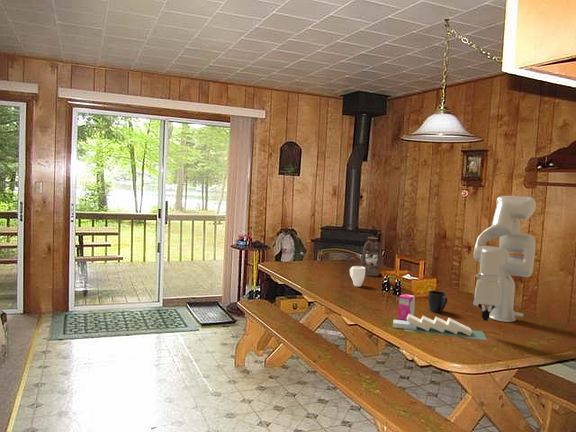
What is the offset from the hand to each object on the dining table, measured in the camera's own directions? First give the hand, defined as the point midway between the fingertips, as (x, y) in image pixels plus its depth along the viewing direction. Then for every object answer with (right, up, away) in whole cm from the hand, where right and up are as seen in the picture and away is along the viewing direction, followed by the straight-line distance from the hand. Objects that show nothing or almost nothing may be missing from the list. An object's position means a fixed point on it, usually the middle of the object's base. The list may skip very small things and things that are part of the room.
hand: (485, 319), depth 211 cm
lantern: (-28, +4, +125) cm, 128 cm away
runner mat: (-17, -6, +4) cm, 18 cm away
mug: (-9, -4, +36) cm, 38 cm away
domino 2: (-23, -5, +5) cm, 24 cm away
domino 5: (-6, -6, +2) cm, 8 cm away
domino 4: (-11, -5, +3) cm, 13 cm away
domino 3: (-17, -5, +4) cm, 18 cm away
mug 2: (-43, +2, +90) cm, 100 cm away
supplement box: (-29, -4, +20) cm, 36 cm away
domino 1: (-28, -4, +6) cm, 29 cm away
